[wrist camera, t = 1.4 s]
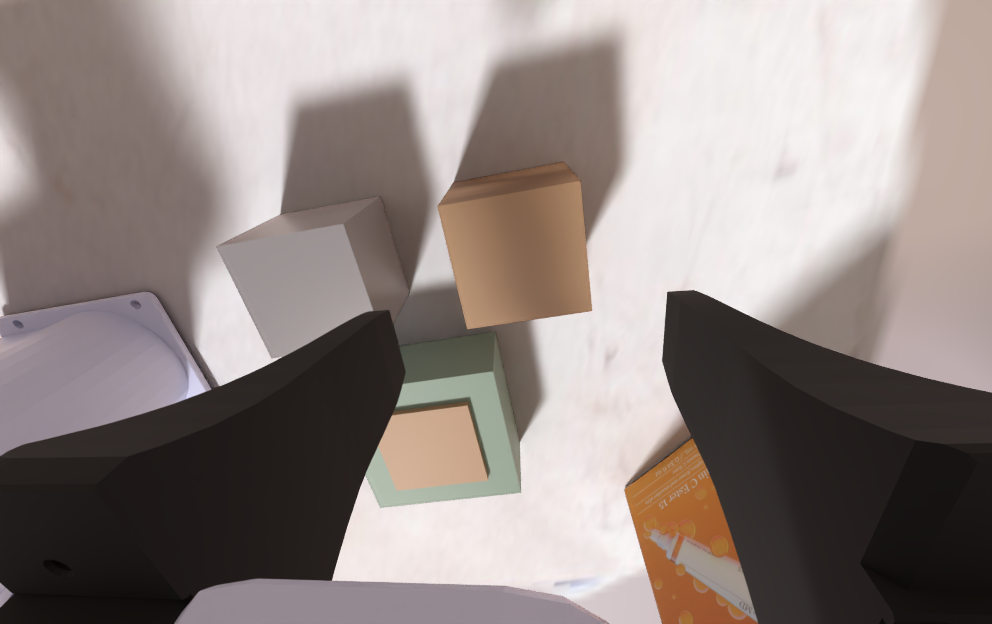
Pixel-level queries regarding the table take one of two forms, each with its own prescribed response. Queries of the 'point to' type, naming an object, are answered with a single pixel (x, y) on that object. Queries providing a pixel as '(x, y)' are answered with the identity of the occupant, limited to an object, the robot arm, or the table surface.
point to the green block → (449, 427)
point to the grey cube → (316, 271)
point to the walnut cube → (518, 245)
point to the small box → (688, 543)
